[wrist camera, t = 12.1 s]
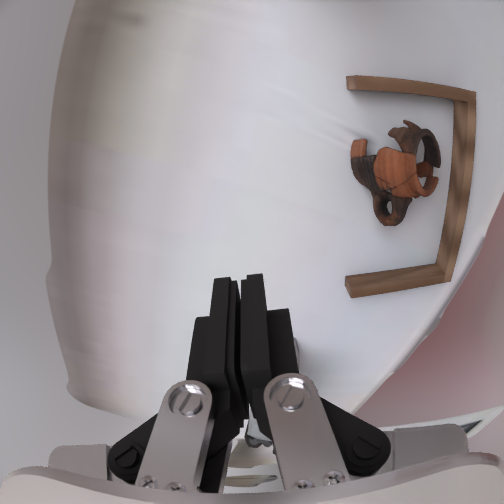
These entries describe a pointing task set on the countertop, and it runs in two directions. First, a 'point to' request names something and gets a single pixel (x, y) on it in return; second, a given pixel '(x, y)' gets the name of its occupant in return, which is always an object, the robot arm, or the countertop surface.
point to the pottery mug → (397, 171)
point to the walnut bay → (456, 195)
